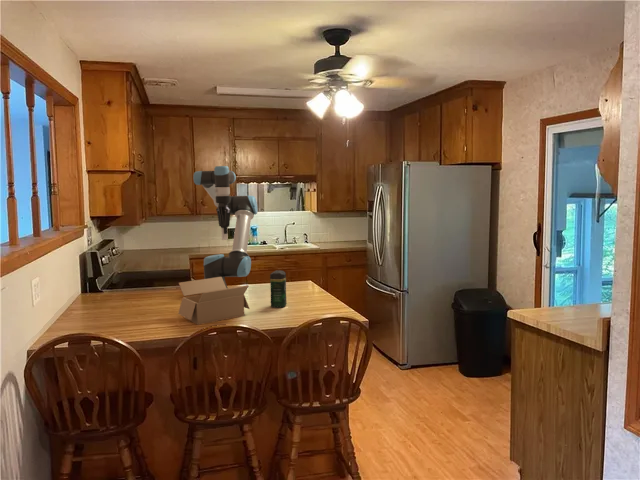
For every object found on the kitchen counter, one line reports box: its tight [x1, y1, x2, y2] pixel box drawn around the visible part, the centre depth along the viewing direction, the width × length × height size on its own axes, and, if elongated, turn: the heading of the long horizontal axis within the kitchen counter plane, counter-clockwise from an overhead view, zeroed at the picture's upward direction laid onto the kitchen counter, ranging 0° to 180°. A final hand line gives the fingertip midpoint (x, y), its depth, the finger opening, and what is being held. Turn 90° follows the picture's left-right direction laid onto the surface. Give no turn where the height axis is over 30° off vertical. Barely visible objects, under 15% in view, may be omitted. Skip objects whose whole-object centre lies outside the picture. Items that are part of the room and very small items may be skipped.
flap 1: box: [178, 277, 226, 297], centre depth 256 cm, size 1×23×8 cm
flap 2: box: [199, 284, 249, 303], centre depth 237 cm, size 1×23×8 cm
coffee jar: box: [269, 269, 288, 309], centre depth 265 cm, size 10×8×19 cm
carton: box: [177, 294, 250, 326], centre depth 248 cm, size 16×31×10 cm, turn 127°
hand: (224, 239), depth 272 cm, fingers closed
